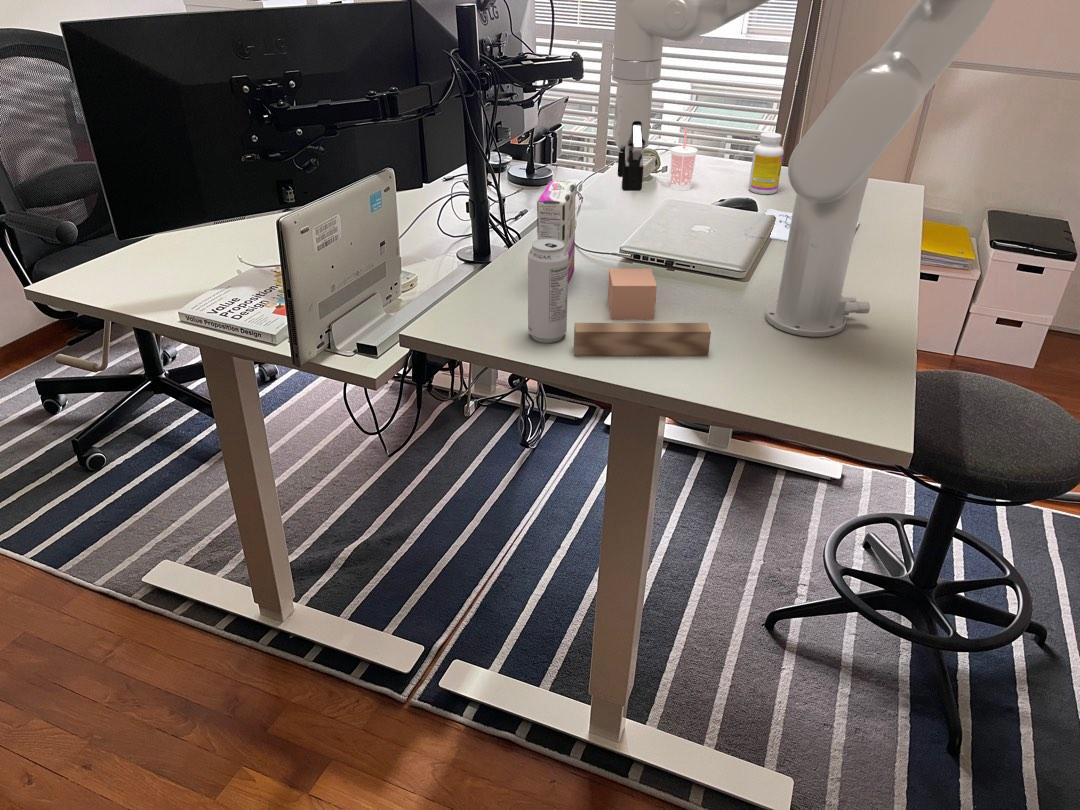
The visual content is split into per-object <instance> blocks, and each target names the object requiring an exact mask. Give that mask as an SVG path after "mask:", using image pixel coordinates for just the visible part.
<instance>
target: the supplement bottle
mask: <svg viewBox="0 0 1080 810" xmlns="http://www.w3.org/2000/svg"><path fill="white" fill-rule="evenodd" d="M759 136H760V137H759V141H760V143H759V144H756V146H755V147H754V148H753V152H752V161H751V169H750V175H749V176H750V177H749V183H748V189H749V191H750V192H752V193H755V194H758V195H772V194H775V193H777V192H778V189H779V183H780V178H781V171H782V163H783V157H784V152H785V151H784V149H783V147H782V146H781V145H780V143H781V141H782V136H783V135H782V134H781V133H779V132H778V133H776V132H772V131H768V132H767V131H766V132H761V133H760V135H759Z"/></svg>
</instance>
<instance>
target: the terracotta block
mask: <svg viewBox="0 0 1080 810" xmlns="http://www.w3.org/2000/svg"><path fill="white" fill-rule="evenodd" d="M657 288H658V285H657V282H656V279H655V277H654V273H653V270H652V269H651V268H609V269H608V285H607V297H606V298H607V301H608V302H607V301H606V302H607V307H608V312H609V317H611V318H610V320H654V319H655V310H656V309H655V307H656V299H657V297H656V296H657Z"/></svg>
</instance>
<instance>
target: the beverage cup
mask: <svg viewBox="0 0 1080 810" xmlns="http://www.w3.org/2000/svg"><path fill="white" fill-rule="evenodd" d="M687 134H688V126H685V128H684V138H683V145H678V146H677V145H676V146H672V147H671V148H670V154H671V157H670V158H671V161H670V189H671V190H673V191H676V192H686V191H689V190H691V185H692V180H693V173H694V168H695V167H694V166H695V161H696V156H697V155H698V148H696V147H694V146H688V145H686V144H687V136H688V135H687Z"/></svg>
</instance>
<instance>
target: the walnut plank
mask: <svg viewBox="0 0 1080 810" xmlns="http://www.w3.org/2000/svg"><path fill="white" fill-rule="evenodd" d="M573 325H574V326H573V327H574V329H573V330H574V331H573V351H574V357H579V356H580V357H584V356H585V357H586V356H589V357H590V356H591V357H592V356H593V357H597V356H598V357H613V356H614V357H617V356H618V357H622V356H623V357H624V356H625V357H626V356H630V357H632V356H633V357H635V356H636V357H637V356H638V357H642V356H643V357H645V356H647V357H650V356H651V357H653V356H654V357H657V356H659V357H661V356H662V357H669V356H671V357H673V356H675V357H677V356H679V357H680V356H681V357H682V356H683V357H687V356H688V357H689V356H690V357H697V356H699V357H700V356H701V357H702V356H703V357H704V356H705V357H707V356H709V351H710V344H711V335H712V331H711V328H710V326H709V323H708V322H574V324H573Z"/></svg>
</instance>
